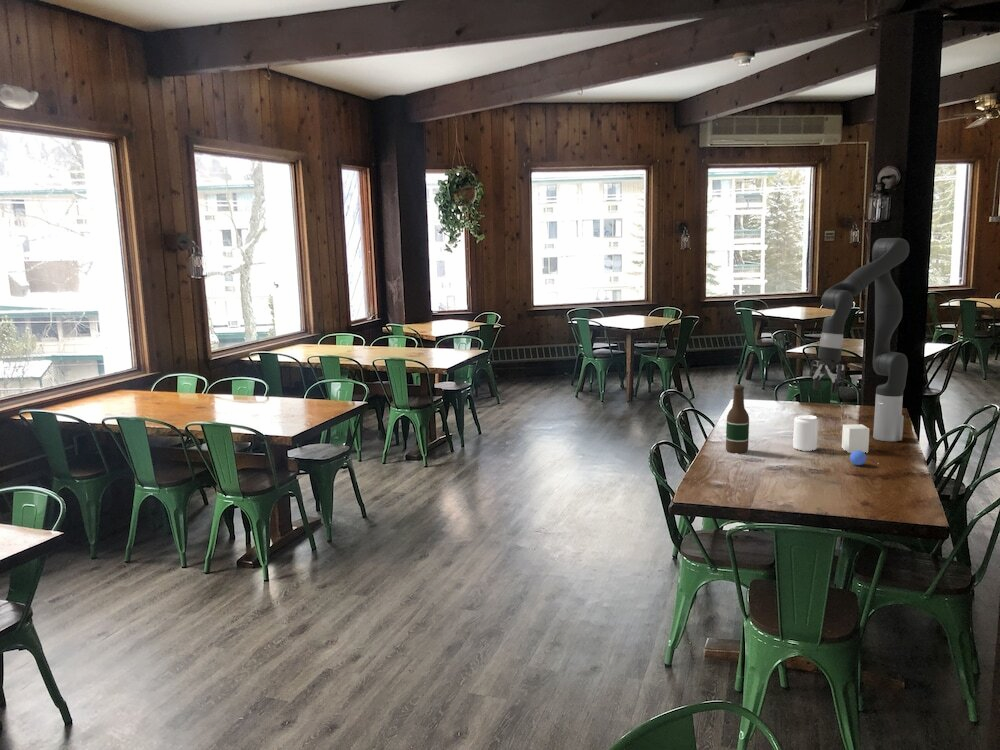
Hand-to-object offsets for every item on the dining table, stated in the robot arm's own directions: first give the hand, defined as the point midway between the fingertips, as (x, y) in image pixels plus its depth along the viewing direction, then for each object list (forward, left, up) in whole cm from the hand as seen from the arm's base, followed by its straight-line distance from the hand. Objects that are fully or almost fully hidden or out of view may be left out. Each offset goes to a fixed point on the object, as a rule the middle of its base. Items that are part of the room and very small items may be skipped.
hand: (824, 391), depth 288 cm
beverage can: (+5, -3, -22) cm, 23 cm away
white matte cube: (-12, 0, -22) cm, 25 cm away
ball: (-6, +18, -19) cm, 27 cm away
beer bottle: (+30, 0, -22) cm, 37 cm away
